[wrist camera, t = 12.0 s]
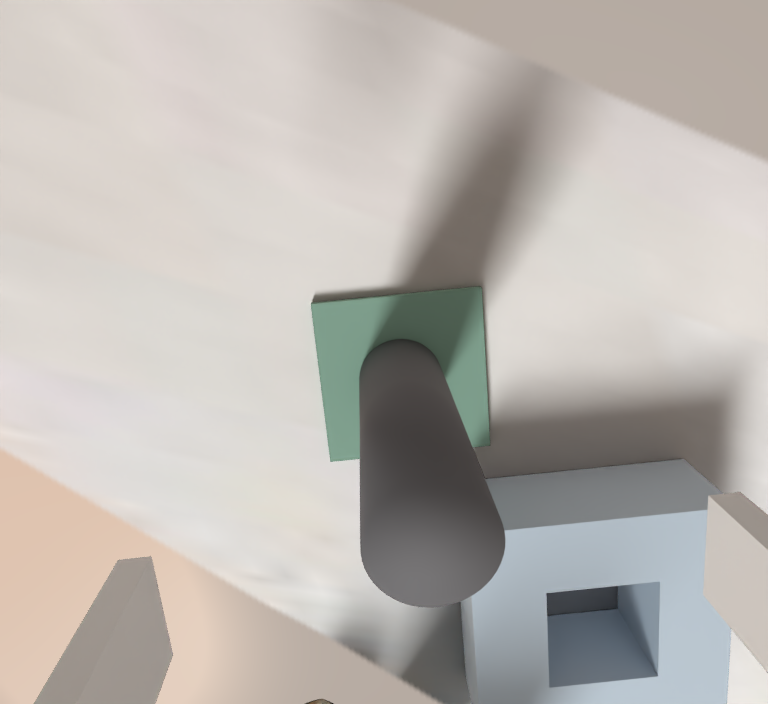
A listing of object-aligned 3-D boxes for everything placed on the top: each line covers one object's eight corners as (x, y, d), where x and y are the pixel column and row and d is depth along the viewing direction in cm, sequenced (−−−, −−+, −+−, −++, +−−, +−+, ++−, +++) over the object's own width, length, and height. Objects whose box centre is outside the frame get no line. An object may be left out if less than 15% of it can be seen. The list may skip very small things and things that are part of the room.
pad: (311, 302, 31) (310, 304, 30) (480, 286, 31) (481, 287, 30) (330, 458, 33) (330, 461, 32) (488, 442, 33) (490, 445, 32)
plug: (355, 343, 31) (353, 488, 17) (439, 335, 31) (502, 473, 17) (363, 421, 32) (367, 613, 18) (444, 413, 32) (507, 600, 18)
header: (451, 482, 33) (467, 534, 28) (683, 458, 33) (738, 506, 29) (465, 676, 36) (481, 752, 32) (677, 654, 37) (725, 726, 32)
